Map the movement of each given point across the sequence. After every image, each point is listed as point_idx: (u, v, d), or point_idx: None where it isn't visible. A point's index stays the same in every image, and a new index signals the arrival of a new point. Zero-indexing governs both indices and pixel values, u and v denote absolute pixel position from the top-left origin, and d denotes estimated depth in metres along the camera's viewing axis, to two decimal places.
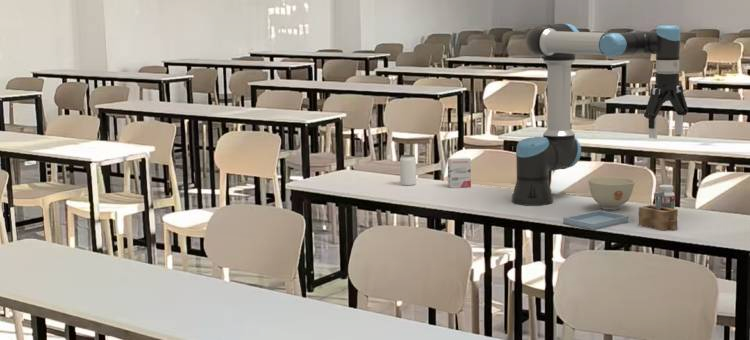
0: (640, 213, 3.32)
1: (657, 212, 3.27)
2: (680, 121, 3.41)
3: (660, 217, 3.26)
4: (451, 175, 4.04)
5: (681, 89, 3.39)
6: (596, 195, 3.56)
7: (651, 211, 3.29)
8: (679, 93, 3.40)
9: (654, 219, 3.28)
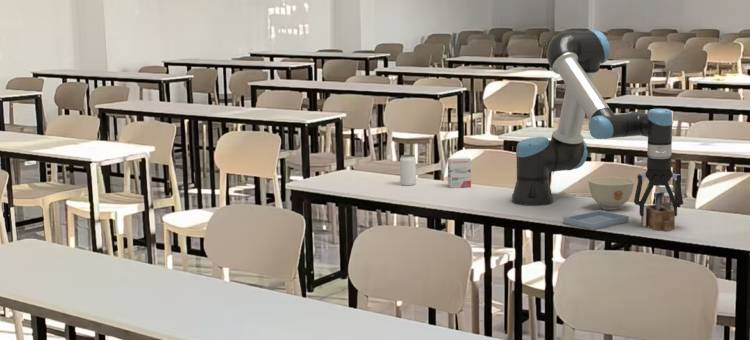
0: None
1: (652, 211, 3.28)
2: None
3: (654, 217, 3.27)
4: (451, 175, 4.04)
5: (678, 178, 3.26)
6: (596, 195, 3.56)
7: (648, 210, 3.30)
8: (676, 181, 3.27)
9: (650, 218, 3.29)
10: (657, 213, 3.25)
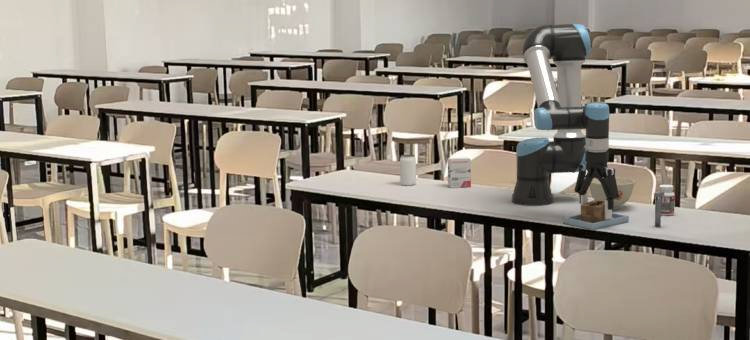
0: None
1: None
2: None
3: None
4: (451, 175, 4.04)
5: (608, 172, 3.30)
6: (596, 195, 3.56)
7: None
8: None
9: None
10: (581, 206, 3.35)
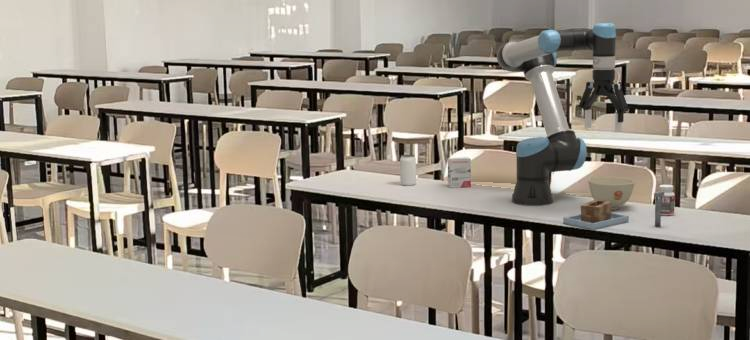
0: None
1: None
2: None
3: None
4: (451, 175, 4.04)
5: (615, 87, 3.43)
6: (596, 195, 3.56)
7: None
8: None
9: None
10: (581, 206, 3.35)
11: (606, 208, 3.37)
